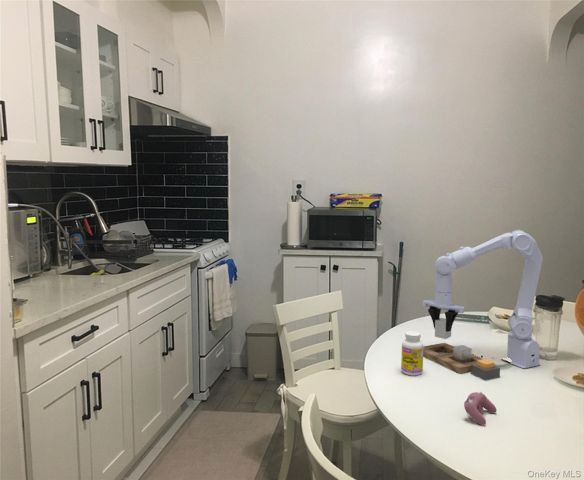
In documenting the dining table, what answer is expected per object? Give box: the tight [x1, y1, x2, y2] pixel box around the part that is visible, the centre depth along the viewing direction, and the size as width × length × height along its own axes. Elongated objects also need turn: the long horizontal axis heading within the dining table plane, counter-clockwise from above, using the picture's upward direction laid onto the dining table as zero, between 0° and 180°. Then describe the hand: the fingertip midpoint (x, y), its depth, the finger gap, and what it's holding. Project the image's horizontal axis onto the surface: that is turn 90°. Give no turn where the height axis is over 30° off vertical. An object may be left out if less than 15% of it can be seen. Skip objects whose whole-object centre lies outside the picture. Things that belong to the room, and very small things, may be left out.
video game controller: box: [463, 391, 497, 426], centre depth 132 cm, size 10×5×7 cm, turn 141°
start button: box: [477, 358, 495, 369], centre depth 159 cm, size 4×4×3 cm
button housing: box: [470, 363, 501, 381], centre depth 159 cm, size 6×6×3 cm
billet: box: [453, 344, 473, 364], centre depth 168 cm, size 4×4×6 cm
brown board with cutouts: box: [423, 342, 484, 375], centre depth 173 cm, size 22×13×2 cm, turn 25°
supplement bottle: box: [400, 330, 424, 377], centre depth 161 cm, size 7×7×13 cm
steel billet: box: [434, 317, 452, 340], centre depth 176 cm, size 4×4×6 cm
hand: (442, 329), depth 176 cm, fingers closed on steel billet, 4 cm apart
